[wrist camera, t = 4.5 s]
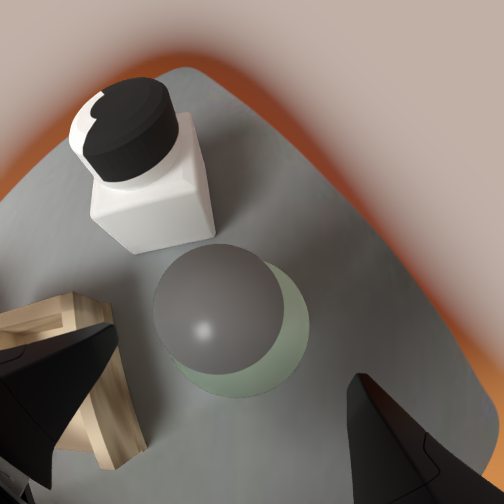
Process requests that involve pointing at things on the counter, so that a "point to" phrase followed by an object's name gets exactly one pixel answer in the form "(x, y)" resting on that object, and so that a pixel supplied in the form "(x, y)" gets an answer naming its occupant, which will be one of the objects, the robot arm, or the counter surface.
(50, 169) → the counter surface
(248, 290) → the green bottle
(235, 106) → the counter surface
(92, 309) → the open wooden box
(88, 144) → the medicine bottle
